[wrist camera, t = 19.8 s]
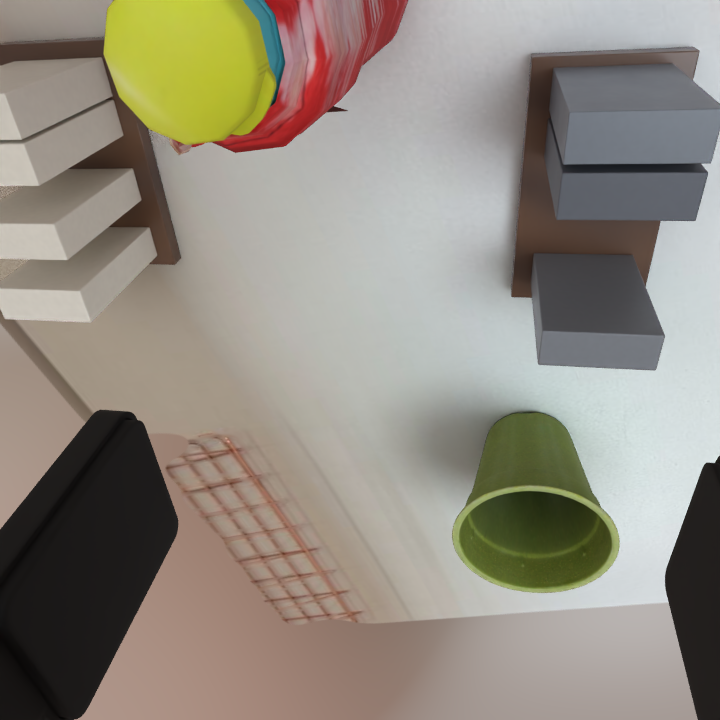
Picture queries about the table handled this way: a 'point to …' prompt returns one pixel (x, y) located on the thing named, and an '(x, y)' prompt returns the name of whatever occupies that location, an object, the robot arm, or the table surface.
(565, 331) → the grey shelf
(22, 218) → the beige box
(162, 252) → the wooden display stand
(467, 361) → the table surface
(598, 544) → the plant pot
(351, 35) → the water bottle
